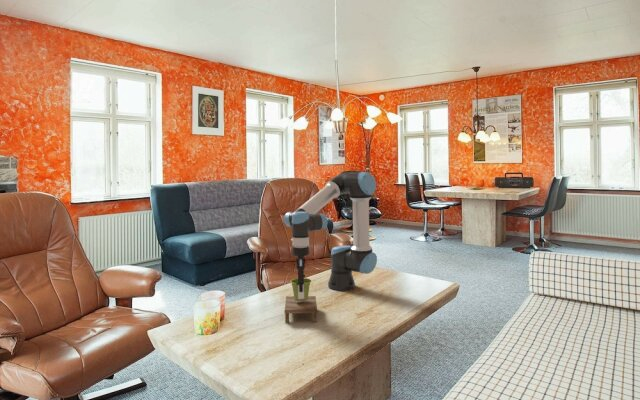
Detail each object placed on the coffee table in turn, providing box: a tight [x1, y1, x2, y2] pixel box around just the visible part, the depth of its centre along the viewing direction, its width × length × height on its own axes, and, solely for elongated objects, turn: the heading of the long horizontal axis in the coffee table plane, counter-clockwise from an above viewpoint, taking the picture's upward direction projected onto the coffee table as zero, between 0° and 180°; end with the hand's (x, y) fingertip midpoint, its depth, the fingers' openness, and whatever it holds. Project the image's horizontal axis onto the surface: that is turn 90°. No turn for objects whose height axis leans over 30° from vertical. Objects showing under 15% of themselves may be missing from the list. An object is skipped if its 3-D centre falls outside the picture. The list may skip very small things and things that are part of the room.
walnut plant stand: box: [284, 295, 318, 324], centre depth 182 cm, size 18×14×6 cm
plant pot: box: [290, 277, 312, 301], centre depth 182 cm, size 9×9×9 cm
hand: (300, 294), depth 182 cm, fingers closed on plant pot, 9 cm apart
